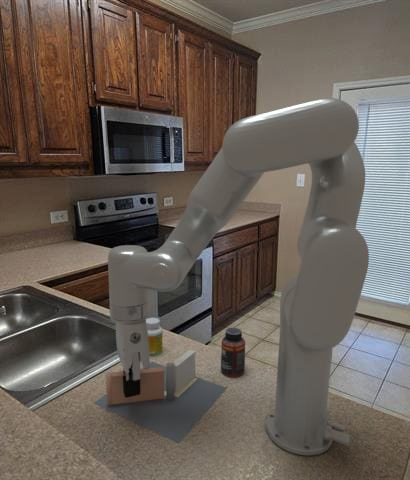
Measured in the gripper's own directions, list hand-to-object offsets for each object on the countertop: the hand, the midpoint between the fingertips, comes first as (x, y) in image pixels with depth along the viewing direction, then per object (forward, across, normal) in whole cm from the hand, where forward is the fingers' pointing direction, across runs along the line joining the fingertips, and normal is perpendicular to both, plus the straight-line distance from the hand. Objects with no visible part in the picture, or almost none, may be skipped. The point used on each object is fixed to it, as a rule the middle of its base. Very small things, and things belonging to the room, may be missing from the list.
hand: (131, 393), depth 72 cm
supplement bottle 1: (+5, +23, -10) cm, 25 cm away
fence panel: (+4, +3, -1) cm, 5 cm away
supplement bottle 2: (+5, +6, -26) cm, 28 cm away
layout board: (+5, +3, -8) cm, 9 cm away
